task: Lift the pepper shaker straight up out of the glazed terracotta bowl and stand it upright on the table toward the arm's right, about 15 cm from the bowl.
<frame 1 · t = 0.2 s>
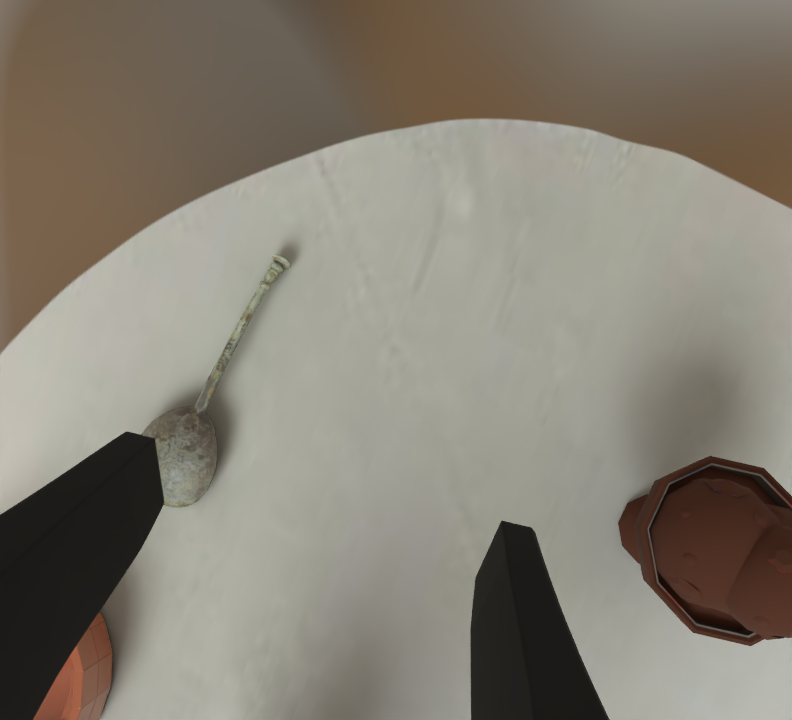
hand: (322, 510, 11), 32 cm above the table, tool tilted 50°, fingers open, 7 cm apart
ice cream bowl: (651, 530, 42), on the table
soupspoon: (226, 377, 44), on the table
clay bowl: (15, 673, 38), on the table
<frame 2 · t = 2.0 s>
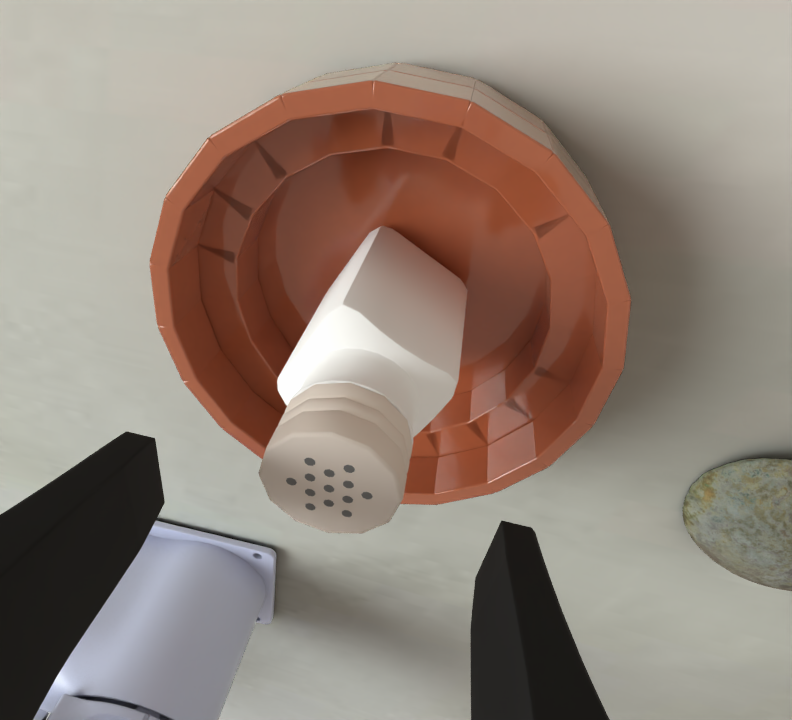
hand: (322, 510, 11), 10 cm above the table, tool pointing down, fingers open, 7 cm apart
pepper shaker: (397, 286, 19), resting on clay bowl
clay bowl: (398, 284, 19), on the table
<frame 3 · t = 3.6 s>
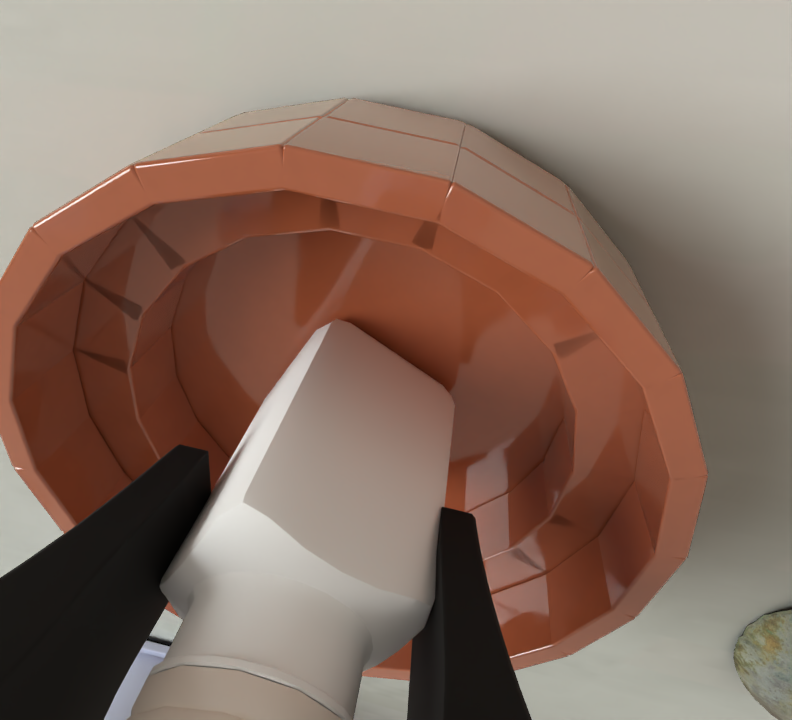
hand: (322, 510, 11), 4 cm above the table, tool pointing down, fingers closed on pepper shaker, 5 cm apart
pepper shaker: (361, 389, 14), resting on clay bowl, touching gripper
clay bowl: (363, 387, 14), on the table
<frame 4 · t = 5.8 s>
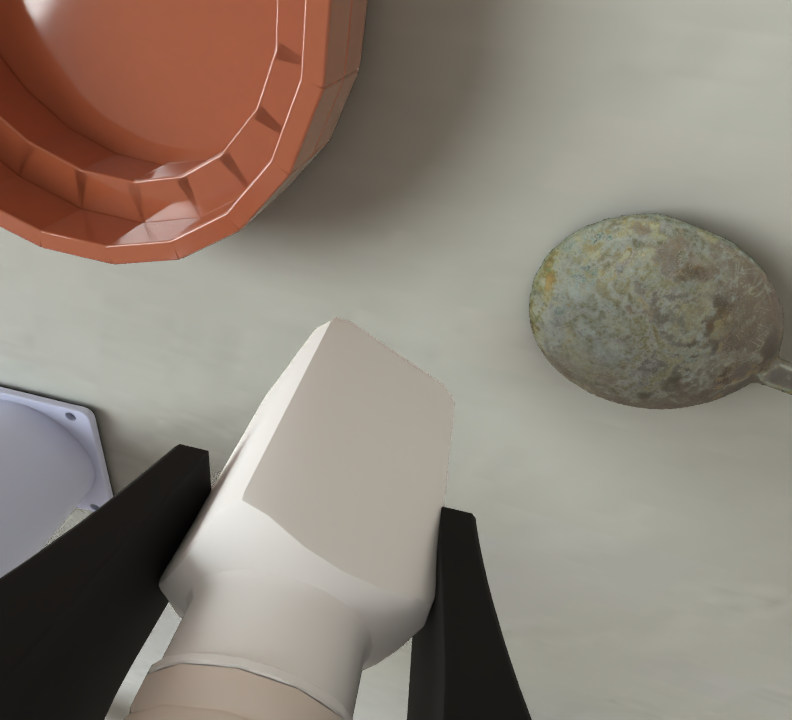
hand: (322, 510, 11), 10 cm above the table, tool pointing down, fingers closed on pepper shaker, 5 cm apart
pepper shaker: (361, 388, 14), point 6 cm above the table, touching gripper
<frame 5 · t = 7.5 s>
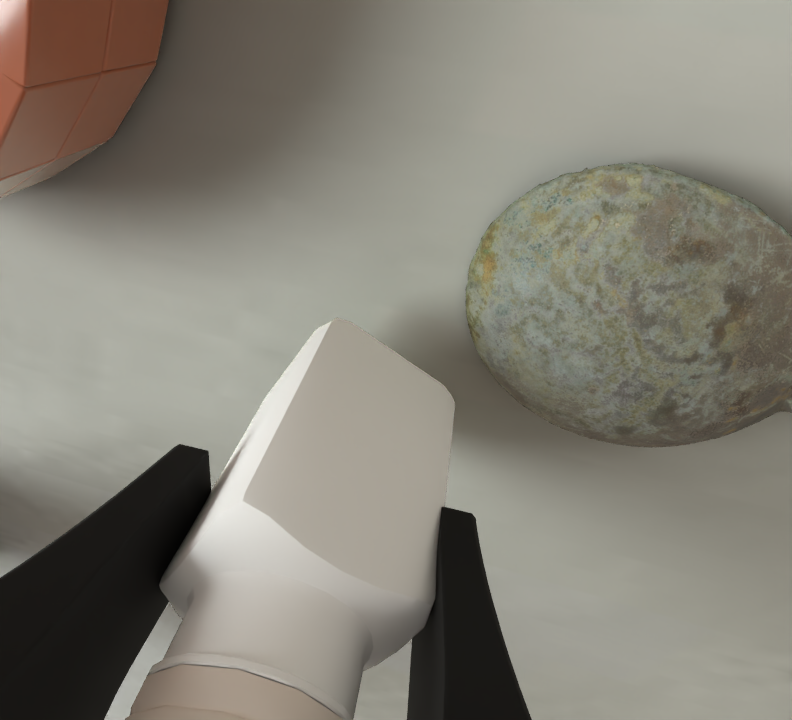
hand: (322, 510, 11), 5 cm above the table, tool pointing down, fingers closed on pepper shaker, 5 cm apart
pepper shaker: (361, 388, 14), point 1 cm above the table, touching gripper
when the fingers open (4 cm above the table, at t = 8.5 s): pepper shaker stays where it is, on the table.
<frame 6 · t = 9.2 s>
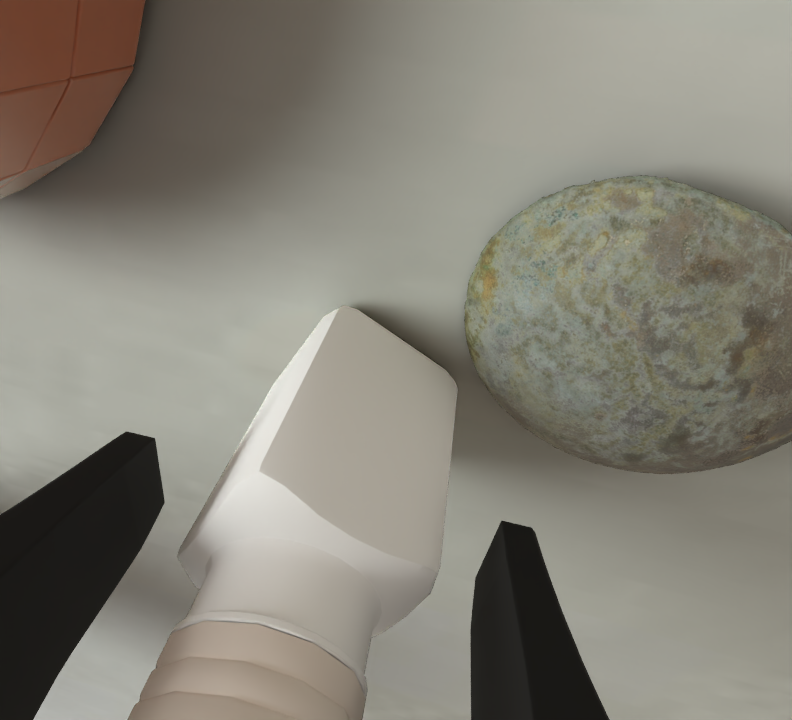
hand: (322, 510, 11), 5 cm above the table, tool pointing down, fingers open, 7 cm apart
pepper shaker: (367, 375, 15), on the table
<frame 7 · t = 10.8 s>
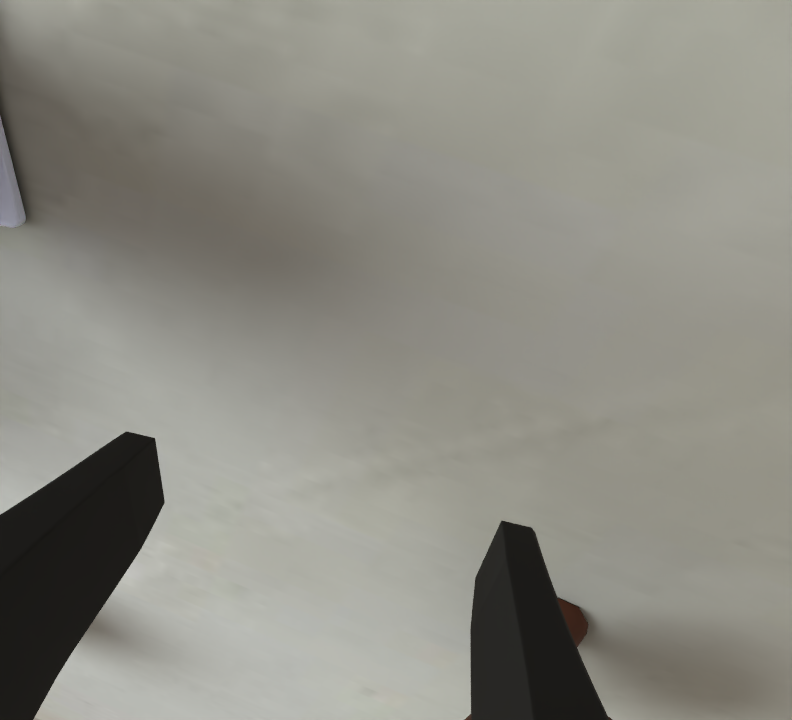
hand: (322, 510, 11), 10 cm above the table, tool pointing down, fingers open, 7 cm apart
ice cream bowl: (537, 618, 30), on the table
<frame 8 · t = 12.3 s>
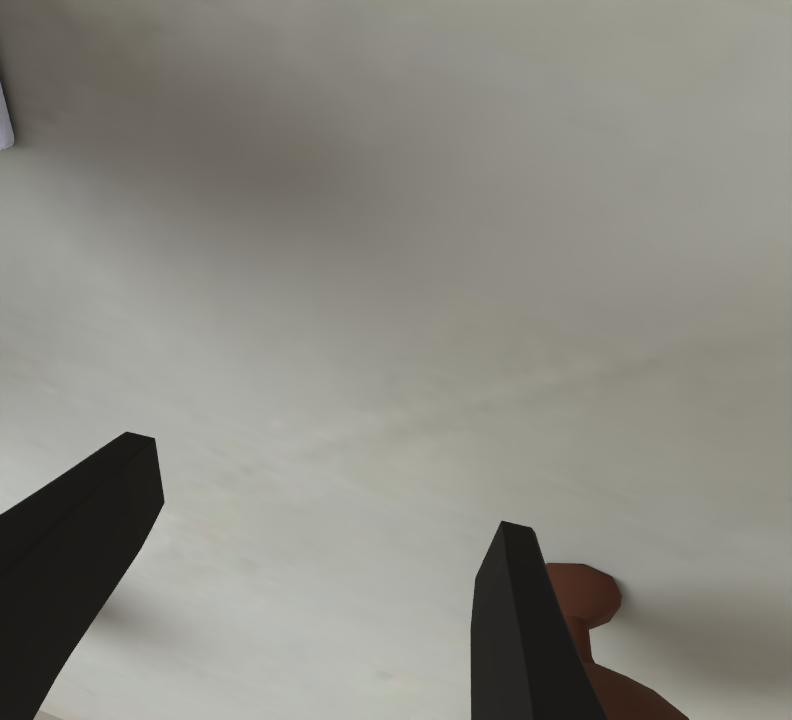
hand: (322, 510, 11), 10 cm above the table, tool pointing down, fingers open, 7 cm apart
ice cream bowl: (566, 590, 28), on the table
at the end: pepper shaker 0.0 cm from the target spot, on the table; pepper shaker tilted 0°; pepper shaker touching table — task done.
